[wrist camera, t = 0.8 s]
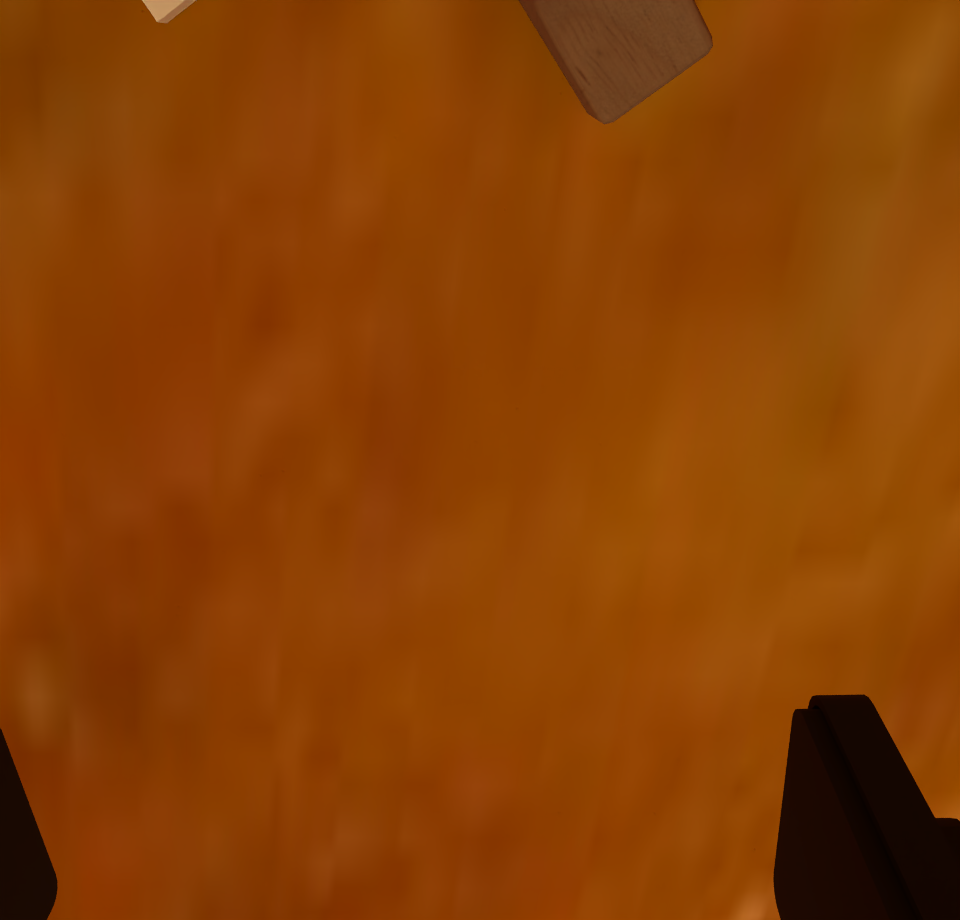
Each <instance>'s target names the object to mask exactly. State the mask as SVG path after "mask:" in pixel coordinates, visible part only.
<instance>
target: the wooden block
mask: <svg viewBox="0 0 960 920" xmlns="http://www.w3.org/2000/svg"><path fill="white" fill-rule="evenodd" d="M519 2H520V3H521V5H522V6H523V8H524V10H525V11H526V13H527V15H528V16H529V18H530V20H531V21H532V23H533V24H534V26H535V28H536V29H537V31H538V33H539V34H540V36H541V38H542V39H543V41H544V43H545V44H546V46H547V47H548V49H549V51H550V52H551V54H552V56H553V57H554V59H555V61H556V62H557V64H558V65H559V67H560V69H561V70H562V72H563V74H564V75H565V77H566V79H567V80H568V82H569V83H570V85H571V87H572V88H573V90H574V92H575V93H576V95H577V97H578V98H579V100H580V102H581V103H582V105H583V106H584V108H585V110H586V111H587V113H588V114H589V115H591V116H592V117H594V118H595V119H597V120H598V121H600V122H602V123H603V124H607V123H611V122H614V121H615V120H617V119H618V118H619V117H621V116H622V115H624V114H625V113H626V112H628V111H629V110H631V109H632V108H633V107H635V106H636V105H637V104H639V103H640V102H642V101H643V100H644V99H646V98H647V97H649V96H650V95H651V94H653V93H654V92H656V91H657V90H658V89H660V88H661V87H662V86H664V85H665V84H667V83H668V82H669V81H671V80H672V79H674V78H675V77H676V76H678V75H679V74H681V73H682V72H683V71H685V70H686V69H688V68H689V67H690V66H692V65H693V64H694V63H696V62H697V61H699V60H700V59H701V58H703V57H704V56H706V55H707V54H708V53H709V51H710V49H711V48H712V46H713V44H712V36H711V34H710V32H709V30H708V28H707V26H706V24H705V22H704V20H703V18H702V16H701V13H700V11H699V9H698V7H697V5H696V3H695V1H694V0H519Z"/></svg>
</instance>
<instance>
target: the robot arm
mask: <svg viewBox="0 0 960 920" xmlns="http://www.w3.org/2000/svg"><path fill="white" fill-rule="evenodd" d="M774 892H775V898H776V904H777V908H778V912H779V915H780V918H781V920H960V821H959V820H958V819H954V818H935V817H934V815H933V813H932V812H931V810H930V808H929V806H928V804H927V802H926V801H925V799H924V797H923V795H922V793H921V791H920V789H919V788H918V786H917V784H916V782H915V780H914V778H913V777H912V775H911V773H910V771H909V769H908V767H907V765H906V764H905V762H904V760H903V758H902V756H901V754H900V753H899V751H898V749H897V747H896V745H895V743H894V741H893V740H892V738H891V736H890V734H889V732H888V730H887V729H886V727H885V725H884V723H883V721H882V719H881V718H880V716H879V714H878V712H877V710H876V708H875V706H874V705H873V703H872V702H871V700H870V699H869V697H867V696H865V695H815V696H812V698H811V699H810V702H809V706H808V709H796V710H795V711H794V713H793V718H792V725H791V733H790V742H789V750H788V758H787V767H786V775H785V783H784V792H783V800H782V808H781V817H780V825H779V833H778V842H777V850H776V858H775V867H774ZM56 894H57V878H56V874H55V871H54V869H53V866H52V863H51V861H50V858H49V855H48V853H47V850H46V847H45V845H44V842H43V839H42V837H41V834H40V831H39V829H38V826H37V823H36V821H35V818H34V815H33V813H32V810H31V807H30V805H29V802H28V799H27V797H26V794H25V791H24V789H23V786H22V783H21V781H20V778H19V775H18V773H17V770H16V767H15V765H14V762H13V759H12V757H11V754H10V751H9V749H8V746H7V743H6V741H5V738H4V735H3V733H2V730H1V729H0V920H47V918H48V916H49V914H50V912H51V910H52V908H53V906H54V903H55V899H56Z"/></svg>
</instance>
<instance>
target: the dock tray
mask: <svg viewBox="0 0 960 920" xmlns="http://www.w3.org/2000/svg"><path fill="white" fill-rule="evenodd" d="M142 1H143V2H144V3H145V5H146V6H147V8H148V9H149V11H150V12H151V14H152V15H153V16H154V18H155V19H156V21H157V22H161V23H168V22H169V21H170V20H172V19H173V18H174V17H175V16H177V15H178V14H179V13H180V12H182V11H183V10H184V9H186V8H187V7H188V6H189V5H191V4H192V3H193V2H195V1H196V0H142Z"/></svg>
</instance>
